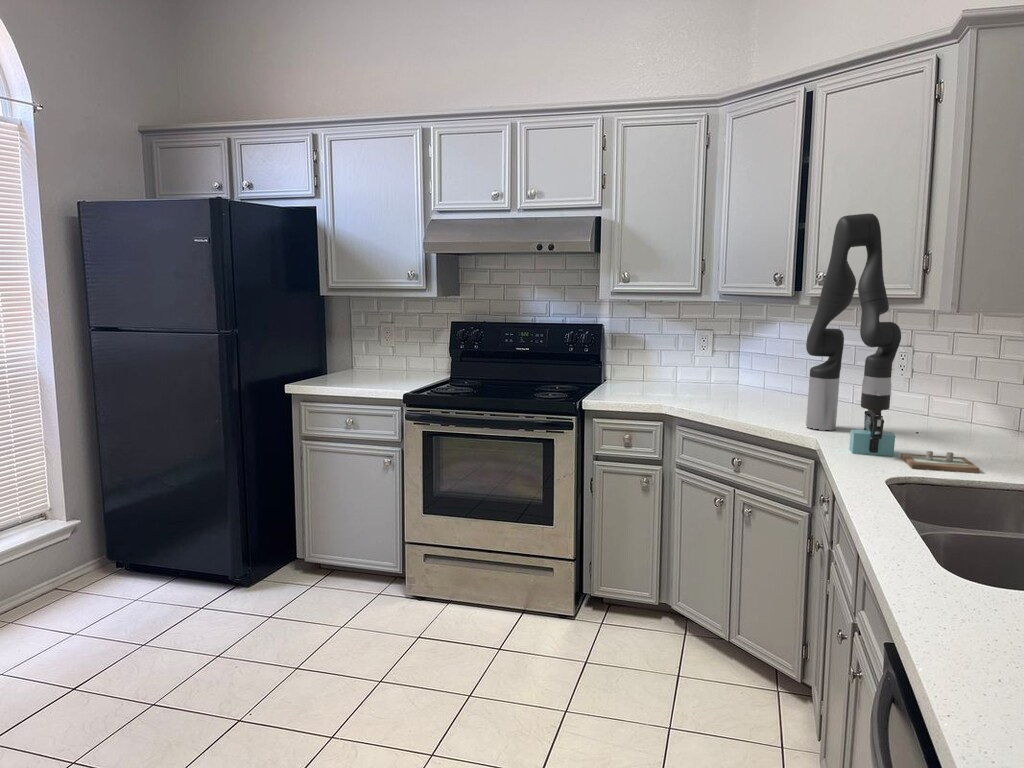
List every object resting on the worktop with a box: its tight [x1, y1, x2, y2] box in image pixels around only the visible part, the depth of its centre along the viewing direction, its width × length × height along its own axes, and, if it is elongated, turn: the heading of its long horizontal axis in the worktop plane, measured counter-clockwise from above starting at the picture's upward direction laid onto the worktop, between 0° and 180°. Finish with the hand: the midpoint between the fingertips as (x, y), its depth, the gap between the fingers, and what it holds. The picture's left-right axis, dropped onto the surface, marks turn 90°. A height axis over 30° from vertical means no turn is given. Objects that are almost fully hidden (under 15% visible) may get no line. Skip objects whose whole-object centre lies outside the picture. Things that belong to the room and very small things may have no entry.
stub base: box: [900, 450, 980, 474], centre depth 206 cm, size 12×16×4 cm
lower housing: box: [848, 429, 896, 457], centre depth 219 cm, size 5×11×6 cm, turn 76°
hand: (871, 449), depth 219 cm, fingers closed on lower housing, 5 cm apart
